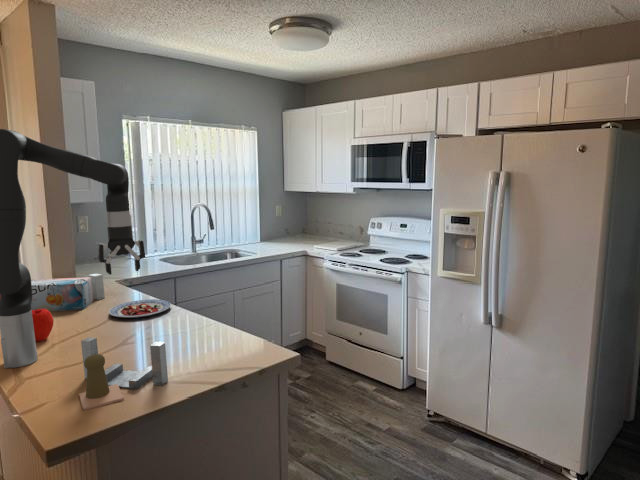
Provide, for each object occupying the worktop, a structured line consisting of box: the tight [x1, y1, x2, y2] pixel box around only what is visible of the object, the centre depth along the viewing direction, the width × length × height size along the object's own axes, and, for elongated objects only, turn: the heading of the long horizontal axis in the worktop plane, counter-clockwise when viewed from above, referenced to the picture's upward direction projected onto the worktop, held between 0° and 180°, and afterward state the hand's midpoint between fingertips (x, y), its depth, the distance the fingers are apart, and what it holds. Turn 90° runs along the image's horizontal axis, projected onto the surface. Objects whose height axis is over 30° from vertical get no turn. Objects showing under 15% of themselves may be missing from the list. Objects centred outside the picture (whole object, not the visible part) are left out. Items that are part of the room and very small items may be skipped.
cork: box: [83, 353, 110, 399], centre depth 128 cm, size 6×6×11 cm
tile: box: [78, 384, 125, 411], centre depth 128 cm, size 10×10×1 cm
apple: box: [32, 309, 54, 342], centre depth 173 cm, size 10×10×12 cm
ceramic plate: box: [108, 299, 172, 319], centre depth 206 cm, size 26×26×3 cm
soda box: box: [0, 276, 94, 312], centre depth 215 cm, size 41×14×13 cm, turn 98°
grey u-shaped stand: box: [80, 336, 169, 390], centre depth 138 cm, size 10×26×12 cm, turn 78°
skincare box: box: [87, 273, 105, 301], centre depth 230 cm, size 6×4×12 cm
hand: (123, 272), depth 156 cm, fingers open, 8 cm apart
